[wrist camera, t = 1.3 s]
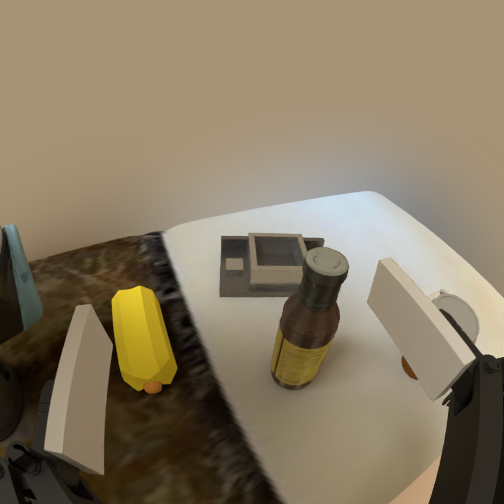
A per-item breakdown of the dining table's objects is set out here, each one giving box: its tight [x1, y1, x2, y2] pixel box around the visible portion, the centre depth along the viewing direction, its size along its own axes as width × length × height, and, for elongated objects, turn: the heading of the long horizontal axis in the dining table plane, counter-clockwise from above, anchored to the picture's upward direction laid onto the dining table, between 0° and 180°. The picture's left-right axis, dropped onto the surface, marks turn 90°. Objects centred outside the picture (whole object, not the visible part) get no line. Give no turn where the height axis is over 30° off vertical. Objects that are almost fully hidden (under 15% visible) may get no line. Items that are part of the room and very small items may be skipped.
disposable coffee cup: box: [402, 294, 479, 380], centre depth 32 cm, size 10×10×12 cm
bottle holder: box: [220, 233, 324, 297], centre depth 49 cm, size 20×12×5 cm, turn 93°
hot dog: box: [112, 286, 178, 394], centre depth 35 cm, size 18×7×8 cm
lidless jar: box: [429, 289, 449, 301], centre depth 45 cm, size 5×3×5 cm
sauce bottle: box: [271, 247, 349, 389], centre depth 29 cm, size 6×6×20 cm
